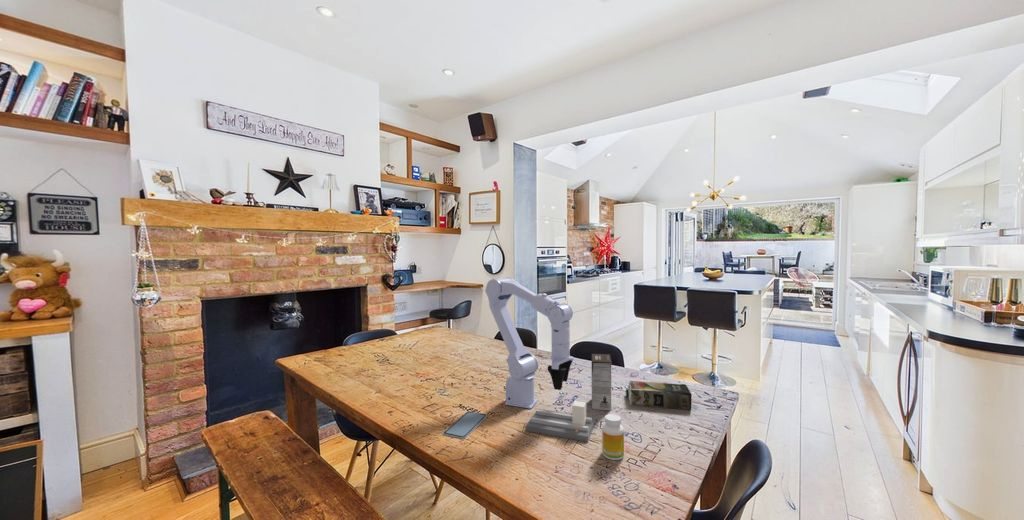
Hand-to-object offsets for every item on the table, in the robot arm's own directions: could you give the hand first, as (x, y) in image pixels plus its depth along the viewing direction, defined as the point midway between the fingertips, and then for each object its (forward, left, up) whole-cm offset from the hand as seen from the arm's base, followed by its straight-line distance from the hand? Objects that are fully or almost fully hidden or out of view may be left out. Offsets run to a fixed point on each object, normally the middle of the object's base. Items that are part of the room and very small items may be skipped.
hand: (560, 385), depth 117 cm
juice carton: (+29, +21, -10) cm, 37 cm away
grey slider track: (+2, -8, -9) cm, 13 cm away
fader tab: (+7, -8, -8) cm, 13 cm away
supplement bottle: (+18, -18, -10) cm, 27 cm away
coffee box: (+11, +12, -10) cm, 19 cm away
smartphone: (-25, -17, -10) cm, 32 cm away
